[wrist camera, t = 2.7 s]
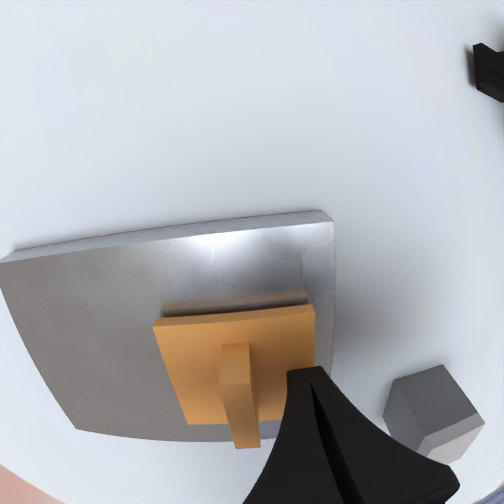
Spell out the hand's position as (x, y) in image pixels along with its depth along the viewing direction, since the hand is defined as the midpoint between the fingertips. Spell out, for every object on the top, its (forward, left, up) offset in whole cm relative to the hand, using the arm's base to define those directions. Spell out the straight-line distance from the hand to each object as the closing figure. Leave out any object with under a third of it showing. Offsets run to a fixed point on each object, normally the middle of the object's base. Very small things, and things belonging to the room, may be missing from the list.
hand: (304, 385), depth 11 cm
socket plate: (0, +6, -4) cm, 7 cm away
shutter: (0, +2, -1) cm, 3 cm away
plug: (-7, -9, -4) cm, 12 cm away
